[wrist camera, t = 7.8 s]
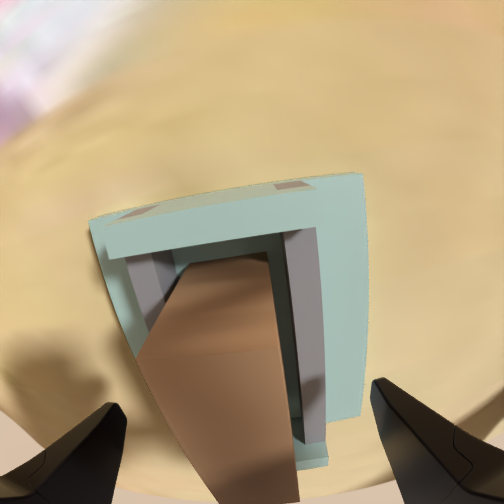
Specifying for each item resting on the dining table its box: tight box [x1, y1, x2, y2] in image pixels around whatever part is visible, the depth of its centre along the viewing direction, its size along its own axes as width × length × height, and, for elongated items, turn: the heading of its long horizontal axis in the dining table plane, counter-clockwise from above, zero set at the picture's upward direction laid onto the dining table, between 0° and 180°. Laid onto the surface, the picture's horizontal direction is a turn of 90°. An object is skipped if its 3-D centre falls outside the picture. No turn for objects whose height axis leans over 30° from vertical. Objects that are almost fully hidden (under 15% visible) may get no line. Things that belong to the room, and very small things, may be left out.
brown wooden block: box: [135, 251, 300, 504], centre depth 10 cm, size 3×8×6 cm, turn 9°
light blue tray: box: [88, 172, 369, 471], centre depth 11 cm, size 11×13×4 cm
